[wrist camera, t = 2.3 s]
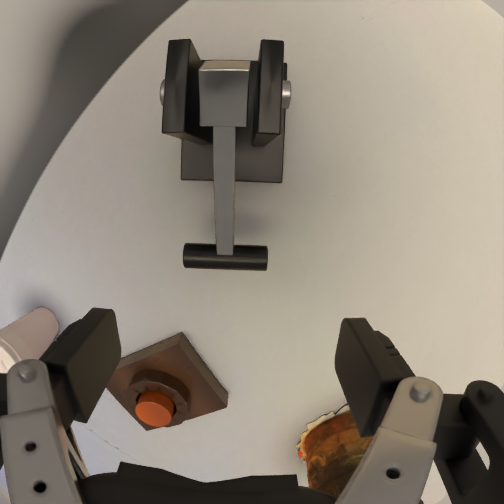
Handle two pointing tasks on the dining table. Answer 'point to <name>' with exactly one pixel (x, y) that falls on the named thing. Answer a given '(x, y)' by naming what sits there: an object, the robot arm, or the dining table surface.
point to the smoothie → (27, 337)
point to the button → (155, 408)
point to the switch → (224, 165)
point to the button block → (168, 380)
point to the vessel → (333, 451)
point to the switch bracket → (247, 138)
